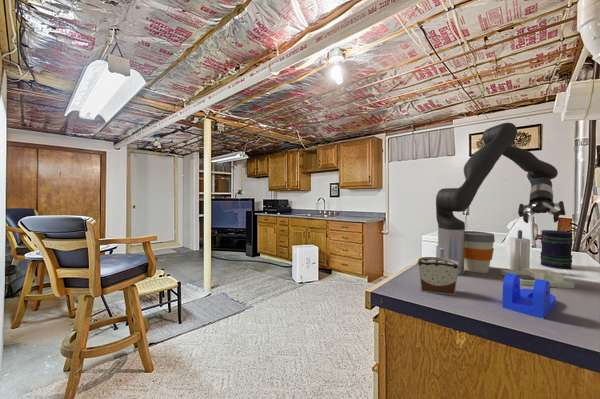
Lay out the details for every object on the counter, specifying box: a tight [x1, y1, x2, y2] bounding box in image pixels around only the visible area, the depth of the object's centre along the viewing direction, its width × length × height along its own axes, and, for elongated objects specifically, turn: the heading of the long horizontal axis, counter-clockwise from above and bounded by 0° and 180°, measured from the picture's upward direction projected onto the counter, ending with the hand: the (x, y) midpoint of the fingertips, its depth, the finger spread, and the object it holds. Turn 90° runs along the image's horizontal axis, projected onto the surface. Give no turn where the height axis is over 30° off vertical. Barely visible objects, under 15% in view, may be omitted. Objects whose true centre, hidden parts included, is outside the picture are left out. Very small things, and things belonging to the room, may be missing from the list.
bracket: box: [501, 273, 557, 319], centre depth 74 cm, size 18×8×9 cm, turn 127°
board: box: [500, 267, 575, 290], centre depth 94 cm, size 15×13×4 cm
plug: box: [508, 229, 531, 271], centre depth 106 cm, size 5×5×16 cm
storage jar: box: [539, 229, 574, 270], centre depth 113 cm, size 10×10×15 cm
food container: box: [416, 256, 461, 296], centre depth 85 cm, size 12×6×10 cm, turn 71°
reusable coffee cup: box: [464, 230, 496, 274], centre depth 108 cm, size 13×12×15 cm
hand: (540, 221), depth 105 cm, fingers open, 8 cm apart
